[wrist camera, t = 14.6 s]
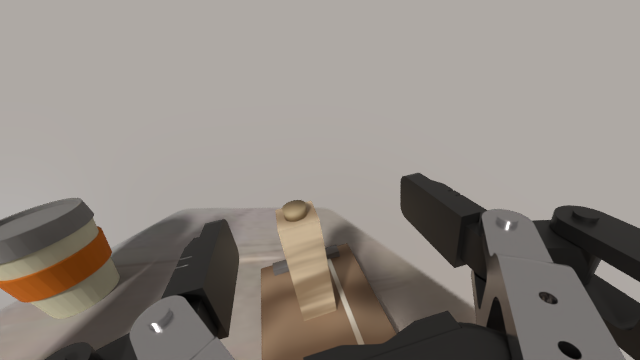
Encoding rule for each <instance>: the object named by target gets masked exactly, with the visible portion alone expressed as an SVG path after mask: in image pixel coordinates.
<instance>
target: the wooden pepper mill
mask: <svg viewBox="0 0 640 360" xmlns="http://www.w3.org/2000/svg"><path fill="white" fill-rule="evenodd" d="M276 219H277V228H278V233H279V237H280V240H281V244H282V247H283V250H284V254H285V257H286V261H287V264H288V268H289V271H290V275H291V278H292V281H293V285H294V288H295V292H296V295H297V299H298V302H299V305H300V309H301V312H302V316H303V319H304V321H306V320H309V319H312V318H315V317H318V316H321V315H324V314H327V313H330V312H333V311H336V310H337V309H336V303H335V298H334V293H333V288H332V283H331V278H330V272H329V267H328V262H327V257H326V252H325V247H324V241H323V236H322V231H321V226H320V221H319V218H318V216H317V213H316V211H315V209H314V206H313V204H312V202H311V201H309V202H304V201H301V200H294V201H291V202H288V203H286V204H285V205H284V206H283V207H282V208H281V209H278V210H276Z"/></svg>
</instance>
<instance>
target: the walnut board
mask: <svg viewBox="0 0 640 360" xmlns="http://www.w3.org/2000/svg"><path fill="white" fill-rule="evenodd" d="M325 252H326V257H327V262H328V267H329V272H330V278H331V283H332V288H333V293H334V298H335V303H336V309H337V310H336V311H333V312H330V313H327V314H324V315H321V316H318V317H315V318H312V319H309V320H306V321H304V319H303V316H302V312H301V309H300V305H299V302H298V299H297V295H296V292H295V288H294V285H293V281H292V278H291V275H290V271H289V268H288V264H287V261H286V260H283V261H280V262H276V263H273V265H272V266H269V267H265V268H262V269H261V324H262V360H303V357H306V356H309V355H312V354H315V353H318V352H321V351H324V350H327V349H330V348H334V347H337V346H340V345H361V344H382V343H385V342H386V341H388V340H389V339H391V338H392V337H393V336H395V335H396V332H395V331H394V329H393V327H392V325H391V323H390V321H389V320H388V318H387V316H386V314H385V312H384V310H383V309H382V307H381V305H380V303H379V301H378V299H377V297H376V296H375V294H374V292H373V290H372V288H371V286H370V285H369V283H368V281H367V279H366V277H365V275H364V273H363V272H362V270H361V268H360V266H359V264H358V262H357V261H356V259H355V257H354V255H353V253H352V251H351V249H350V248H349V246H348V244H347V243H346V244H343V245H340V246H336V245H334V246H330V247H327V248H325Z"/></svg>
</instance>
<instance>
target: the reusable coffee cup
mask: <svg viewBox="0 0 640 360" xmlns="http://www.w3.org/2000/svg"><path fill="white" fill-rule="evenodd" d="M93 216H94V213H93V212H92V211H91V210H90V209H89V207H88V206H87V205H86V204H85V203H84V202H83V201H82V200H81V199H80V198H69V199H63V200H58V201H54V202H51V203H47V204H43V205H40V206H37V207H34V208H31V209H28V210H25V211H22V212H19V213H17V214H14V215H11V216H9V217H6V218H4V219H2V220H0V288H1V289H3V290H4V291H5V292H7V293H9V294H10V295H12V296H13V297H15V298H16V299H18V300H19V301H21V302H30V303H32V304H33V305H35V306H36V307H38V308H39V309H41V310H42V311H44V312H45V313H47V314H48V315H50V316H51V317H53V318H55V319H62V318H67V317H70V316H73V315H76V314H78V313H80V312H82V311H84V310H86V309H88V308H90V307H91V306H93V305H95V304H96V303H98V302H99V301H100V300H102V299H103V298H104V297H105V296H107V295H108V294H109V293H110V292H111V291H112V290H113V289H114V288H115V286H116V285H117V283H118V282H119V279H120V276H119V274H118V272H117V269H116V267H115V265H114V263H113V261H112V258H111V253H112V251H111V248H110V246H109V244H108V242H107V240H106V237H105V235H104V233H103V231H102V229H101V228H100V227H98V226H96V224H95V222H94V220H93Z"/></svg>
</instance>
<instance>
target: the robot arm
mask: <svg viewBox="0 0 640 360" xmlns="http://www.w3.org/2000/svg"><path fill="white" fill-rule="evenodd" d="M401 210H402V213H403V215H404V217H405V218H406V219H407V220H408V221H409V222H410V223H411V224H412V225H413V226H414V227H415V228H416V229H417V230H418V231H419V232H420V233H421V234H422V235H423V236H424V237H425V238H426V239H427V241H429V242H430V244H431V245H432V246H433V247H434V248H435V249H436V250H437V251H438V252H439V253H440V254H441V255H442V256H443V257H444V258H445V259H446V260H447V261H448V262H449V263H450V264H451V265H452V266H453V267H454V268H456V267H459V266H463V265H466V264H467V265H468V266H469V267H470V268H471V269H472V271H471V279H472V287H473V296H474V305H475V314H476V324H471V323H462V322H456V320H455V319H454V318H453V317H452V315H451V314H450V313H449V311H445V312H442V313H439V314H436V315H433V316H429V317H426V318H423V319H420V320H417V321H414V322H413V323H411V324H410V325H409V326H407V327H406V328H404V329H403V330H402V331H400V332H399V333H397V334H396V335H395V336H393V337H392V338H391V339H389V340H388V341H386V342H385V343H382V344H361V345H340V346H337V347H334V348H330V349H327V350H324V351H321V352H318V353H315V354H312V355H309V356H306V357H303V360H626V359H625V358H624V356H623V354H622V352H621V351H620V349H619V347H620V348H621V349H622V350H624V351H625V352H626V353H627V354H628V355H630V356H631V357H632V358H633V359H635V360H640V303H639V302H637V301H636V300H634V299H632V298H631V297H629V296H627V295H626V294H625V293H623V292H622V291H620V290H618V289H617V288H615V287H614V286H612V285H611V284H609V283H608V282H606V281H604V280H603V279H601V278H600V277H598V276H597V275H595V274H594V273H595V270H596V268H597V267H598V265H599V263H600V261H601V260H603V261H605V262H607V263H608V264H610V265H612V266H613V267H615V268H617V269H619V270H620V271H622V272H624V273H626V274H627V275H629V276H631V277H632V278H634V279H636V280H637V281H639V282H640V228H637V227H635V226H633V225H630V224H628V223H626V222H624V221H621V220H619V219H617V218H614V217H612V216H610V215H607V214H605V213H603V212H600V211H597V210H594V209H590V208H586V207H581V206H561V207H558V208H556V209H555V211H554V214H553V217H552V219H551V220H538V221H531V220H530V219H529V218H527V217H526V216H524V215H522V214H520V213H517V212H513V211H510V210H502V209H493V210H488V211H487V210H486V209H484V208H482V207H481V206H479V205H478V204H476V203H474V202H473V201H471V200H469V199H468V198H466V197H465V196H463V195H460V193H458V192H456V191H453V190H452V189H451V188H450V187H448V186H446V185H445V184H442V183H439V182H436V181H432V180H430V179H428V178H427V177H425V176H423V175H422V174H420V173H415V174H411V175H407V176H403V177H402V178H401ZM238 266H239V253H238V249H237V246H236V243H235V241H234V238H233V235H232V233H231V230H230V228H229V225H228V223H227V221H226V220H225V219H222V220H218V221H214V222H210V223H206V224H205V225H204V228H203V230H202V233H201V235H200V237H198V238H194V239H193V240H192V241H191V242H190V243H189V244H188V246H187V247H186V248H185V249H184V251H183V253H182V256H181V258H180V260H179V262H178V264H177V266H176V269H175V270H174V273H173V275H172V277H171V279H170V281H169V283H168V285H167V288H166V290H165V292H164V294H163V296H162V298H161V300H159V301H157V302H156V303H154V304H152V305H151V306H150V307H148V308H147V309H146V310H145V311H144V312H143V313H142V314H141V315H140V316H139V317H138V318H137V320H136V321H135V322H134V324H133V326H132V328H131V331H130V333H128V334H126V335H125V336H123V337H121V338H119V339H117V340H115V341H113V342H111V343H109V344H108V345H106V346H104V347H102V348H100V349H98V350H96V351H95V350H94V349H93V348H92V347H91V346H90V345H89V344H88V343H84V342H81V343H75V344H72V345H69V346H67V347H65V348H63V349H61V350H59V351H57V352H55V353H54V354H52V355H51V356H49V357H48V358H47V359H45V360H235V359H234V358H233V357H232V355H231V354H230V353H229V351H228V350H227V349H226V348H225V346H224V345H223V344H222V342H221V341H220V340H219V339H222V338H226V337H228V336H229V329H230V322H231V315H232V308H233V301H234V294H235V287H236V280H237V273H238ZM618 346H619V347H618Z"/></svg>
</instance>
